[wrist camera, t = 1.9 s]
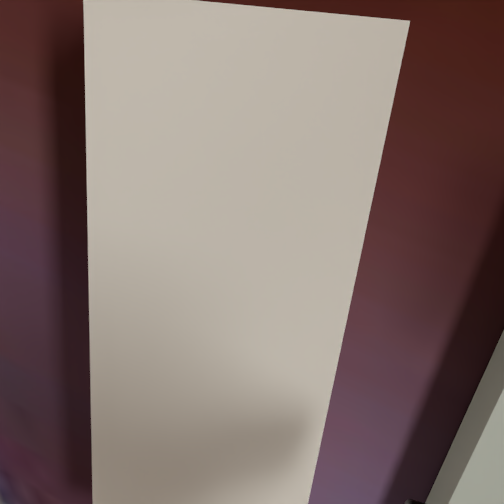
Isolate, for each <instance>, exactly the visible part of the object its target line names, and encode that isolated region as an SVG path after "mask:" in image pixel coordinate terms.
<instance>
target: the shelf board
mask: <svg viewBox="0 0 504 504" xmlns="http://www.w3.org/2000/svg"><path fill="white" fill-rule="evenodd" d="M83 3H84V58H85V113H86V168H87V224H88V279H89V334H90V390H91V445H92V500H93V504H308V501H309V496H310V491H311V486H312V482H313V477H314V472H315V468H316V463H317V458H318V453H319V449H320V444H321V439H322V434H323V430H324V425H325V420H326V416H327V411H328V406H329V401H330V397H331V392H332V387H333V383H334V378H335V373H336V368H337V364H338V359H339V354H340V350H341V345H342V340H343V335H344V331H345V326H346V321H347V317H348V312H349V307H350V302H351V298H352V293H353V288H354V283H355V279H356V274H357V269H358V265H359V260H360V255H361V250H362V246H363V241H364V236H365V232H366V227H367V222H368V217H369V213H370V208H371V203H372V199H373V194H374V189H375V184H376V180H377V175H378V170H379V166H380V161H381V156H382V151H383V147H384V142H385V137H386V133H387V128H388V123H389V118H390V114H391V109H392V104H393V99H394V95H395V90H396V85H397V81H398V76H399V71H400V66H401V62H402V57H403V52H404V48H405V43H406V38H407V33H408V29H409V24H410V21H405V20H395V19H384V18H374V17H363V16H353V15H342V14H332V13H321V12H311V11H300V10H290V9H279V8H269V7H258V6H248V5H237V4H227V3H216V2H206V1H195V0H83Z"/></svg>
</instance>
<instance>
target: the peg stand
mask: <svg viewBox="0 0 504 504" xmlns="http://www.w3.org/2000/svg"><path fill="white" fill-rule="evenodd" d="M425 503H426V504H504V330H503V333H502V335H501V337H500V339H499V341H498V344H497V346H496V348H495V350H494V352H493V355H492V357H491V359H490V361H489V363H488V366H487V368H486V370H485V372H484V374H483V377H482V379H481V381H480V383H479V385H478V388H477V390H476V392H475V394H474V396H473V399H472V401H471V403H470V405H469V407H468V410H467V412H466V414H465V416H464V419H463V421H462V423H461V425H460V427H459V430H458V432H457V434H456V436H455V438H454V441H453V443H452V445H451V447H450V449H449V452H448V454H447V456H446V458H445V460H444V463H443V465H442V467H441V469H440V471H439V474H438V476H437V478H436V480H435V482H434V485H433V487H432V489H431V491H430V493H429V496H428V498H427V500H426V502H425Z"/></svg>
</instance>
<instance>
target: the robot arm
mask: <svg viewBox="0 0 504 504" xmlns="http://www.w3.org/2000/svg"><path fill="white" fill-rule="evenodd" d="M404 504H426V503H422V502H419V501H416V500H413V499H408V500H406V501H405V503H404Z"/></svg>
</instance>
